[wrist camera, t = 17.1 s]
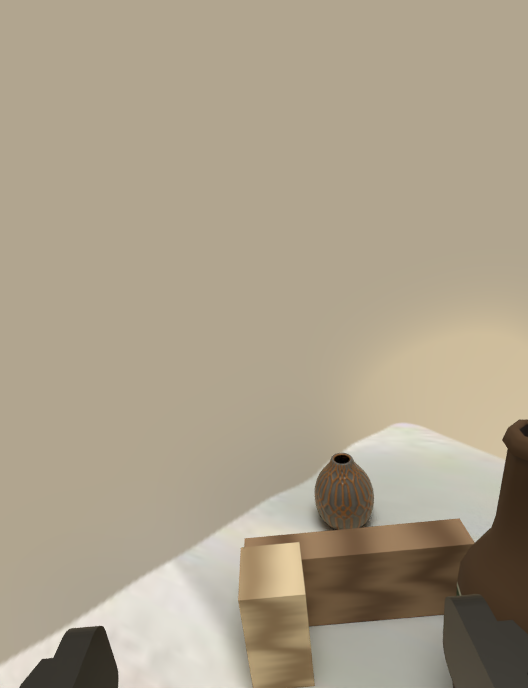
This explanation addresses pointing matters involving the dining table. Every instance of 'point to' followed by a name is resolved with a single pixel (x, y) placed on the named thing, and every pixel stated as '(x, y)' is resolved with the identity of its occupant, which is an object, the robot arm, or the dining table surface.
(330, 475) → the vase
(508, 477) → the beer bottle
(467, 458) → the dining table surface
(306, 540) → the walnut board
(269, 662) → the maple block
